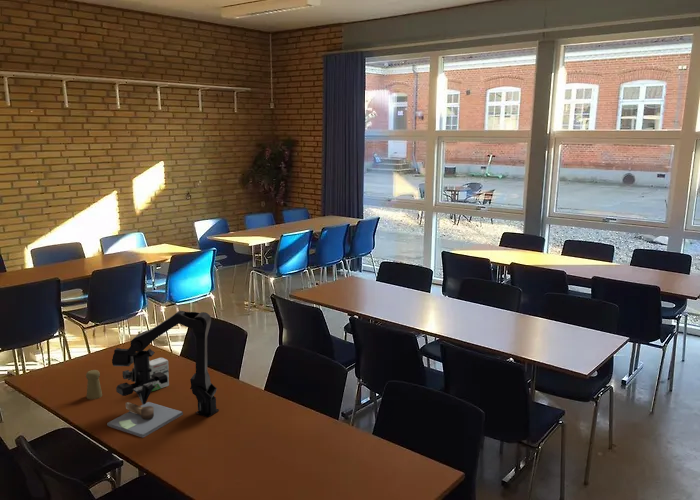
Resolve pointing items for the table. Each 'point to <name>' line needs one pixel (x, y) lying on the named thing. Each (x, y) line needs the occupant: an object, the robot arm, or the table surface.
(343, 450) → the table surface
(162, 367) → the ink box
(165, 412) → the board
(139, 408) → the peg lever
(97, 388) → the cork
